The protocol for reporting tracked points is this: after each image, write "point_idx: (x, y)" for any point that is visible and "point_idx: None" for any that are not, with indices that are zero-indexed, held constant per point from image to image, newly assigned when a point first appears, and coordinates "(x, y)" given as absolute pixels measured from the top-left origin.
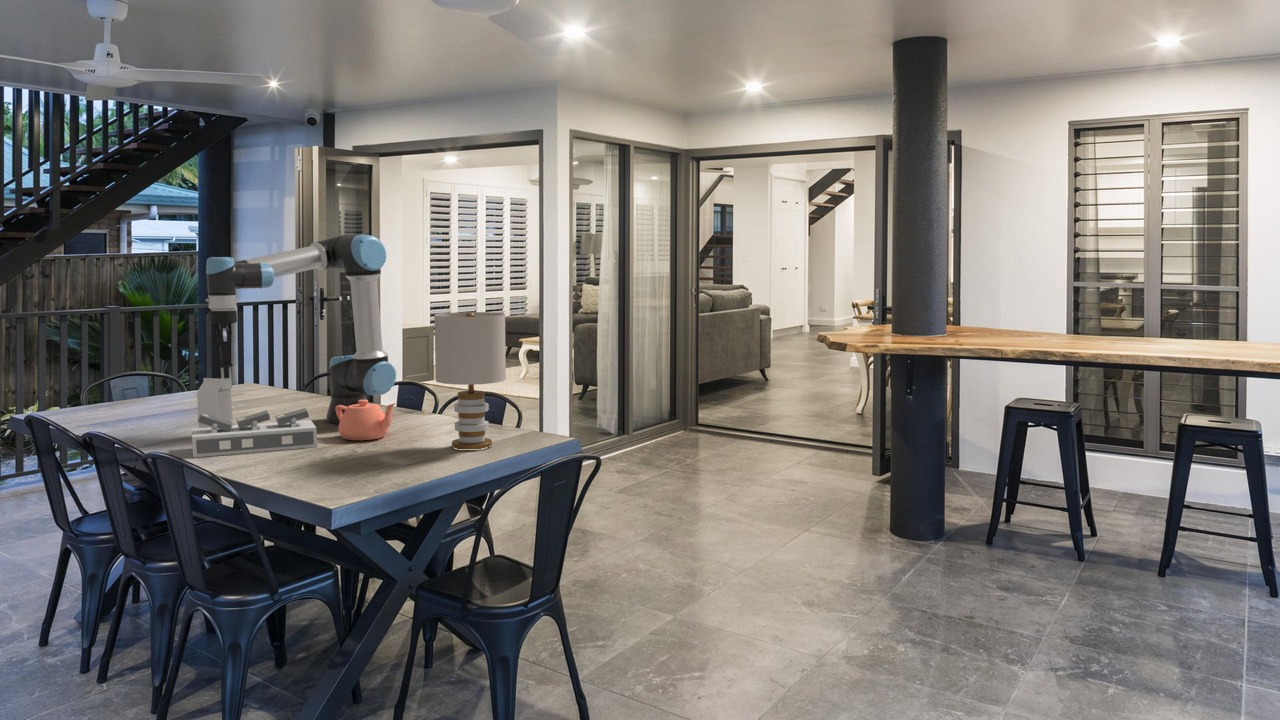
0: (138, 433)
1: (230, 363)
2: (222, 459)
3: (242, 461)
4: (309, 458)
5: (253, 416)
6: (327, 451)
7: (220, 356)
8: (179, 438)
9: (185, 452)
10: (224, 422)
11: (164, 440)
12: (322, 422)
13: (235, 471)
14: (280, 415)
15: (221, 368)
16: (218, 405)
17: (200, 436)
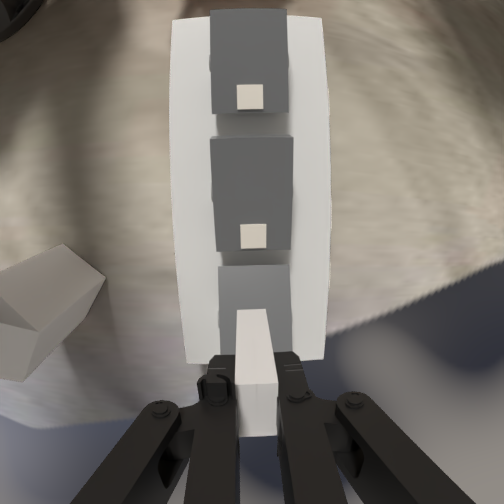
0: (26, 404)
1: (374, 403)
2: (365, 271)
3: (406, 228)
4: (429, 87)
5: (264, 193)
6: (370, 34)
7: (172, 490)
8: (72, 354)
9: None
10: (275, 290)
11: (88, 380)
12: (3, 48)
13: (476, 245)
14: (238, 95)
15: (275, 429)
16: (58, 309)
17: (324, 340)
